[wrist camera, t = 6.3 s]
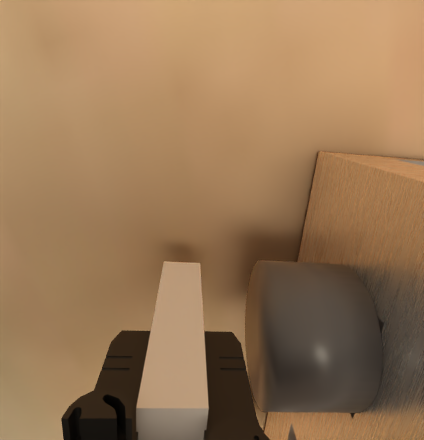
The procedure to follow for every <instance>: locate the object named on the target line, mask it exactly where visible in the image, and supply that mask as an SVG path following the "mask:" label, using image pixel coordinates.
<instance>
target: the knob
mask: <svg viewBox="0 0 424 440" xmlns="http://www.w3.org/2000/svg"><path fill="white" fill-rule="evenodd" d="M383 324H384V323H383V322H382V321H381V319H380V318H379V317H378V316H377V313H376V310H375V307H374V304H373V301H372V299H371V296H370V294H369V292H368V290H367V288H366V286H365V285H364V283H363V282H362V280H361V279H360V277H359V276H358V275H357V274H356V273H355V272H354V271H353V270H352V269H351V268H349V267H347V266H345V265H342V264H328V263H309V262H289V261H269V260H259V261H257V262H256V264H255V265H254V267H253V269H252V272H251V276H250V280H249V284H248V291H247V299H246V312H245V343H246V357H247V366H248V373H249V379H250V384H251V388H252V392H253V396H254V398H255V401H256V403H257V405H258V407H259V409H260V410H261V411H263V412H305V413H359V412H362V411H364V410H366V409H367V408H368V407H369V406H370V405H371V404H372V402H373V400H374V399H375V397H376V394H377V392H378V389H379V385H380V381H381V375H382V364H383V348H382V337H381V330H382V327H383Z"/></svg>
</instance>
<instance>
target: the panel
mask: <svg viewBox="0 0 424 440" xmlns="http://www.w3.org/2000/svg"><path fill="white" fill-rule="evenodd" d="M297 262H309V263H328V264H342V265H345V266H347V267H349V268H351V269H352V270H353V271H354V272H355V273H356V274H357V275H358V276H359V277H360V279H361V280H362V282H363V283H364V285H365V286H366V288H367V290H368V292H369V294H370V296H371V299H372V301H373V304H374V307H375V310H376V313H377V316H378V317H379V318H380V319H381V321H382V322H383V323H384V324H383V327H382V330H381V337H382V348H383V364H382V375H381V381H380V385H379V389H378V392H377V394H376V397H375V399H374V400H373V402H372V404H371V405H370V406H369V407H368V408H367V409H366V410H364V411H362V412H359V413H305V412H268V415H267V421H266V426H265V431H264V433H265V435H266V436H267V437H268V438H269V439H270V440H424V160H420V159H408V158H396V157H383V156H371V155H359V154H346V153H334V152H321V151H319V153H318V158H317V163H316V168H315V174H314V179H313V184H312V189H311V194H310V199H309V204H308V210H307V215H306V220H305V225H304V230H303V235H302V240H301V246H300V251H299V256H298V261H297Z"/></svg>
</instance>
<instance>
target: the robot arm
mask: <svg viewBox="0 0 424 440" xmlns="http://www.w3.org/2000/svg"><path fill="white" fill-rule="evenodd" d="M61 419H62V428H63V438H64V440H270V439H269V438H268V437H267V436H266V435H265V433H264V432H263V430H262V429H261V427H260V425H259V423H258V420H257V417H256V413H255V408H254V403H253V399H252V394H251V389H250V385H249V380H248V375H247V371H246V366H245V361H244V357H243V352H242V347H241V343H240V342H239V341H238V339H237V338H236V337H235V335H234V334H233V333H232V332H208V331H204V320H203V302H202V285H201V268H200V263H189V262H166V261H164V263H163V268H162V274H161V279H160V284H159V290H158V295H157V300H156V306H155V311H154V316H153V322H152V327H151V331H124V330H122V331H121V332H120V333H119V334H118V335H117V336H116V337H115V338H114V340H113V341H112V342H111V344H110V347H109V350H108V353H107V355H106V359H105V361H104V364H103V367H102V371H101V372H100V375H99V378H98V381H97V384H96V387H95V389H94V391H92V392H90V393H88V394H86V395H83V396H81V397H80V398H79V399H77V400H76V401H75V402H74V403H73V404H71V405H70V406H69V408H68V409H67V411H66V412H65V414H64V415H63V417H62V418H61Z"/></svg>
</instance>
